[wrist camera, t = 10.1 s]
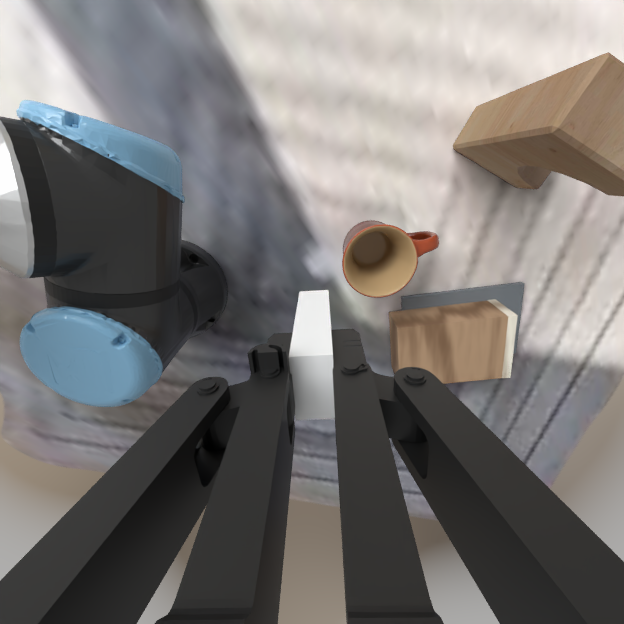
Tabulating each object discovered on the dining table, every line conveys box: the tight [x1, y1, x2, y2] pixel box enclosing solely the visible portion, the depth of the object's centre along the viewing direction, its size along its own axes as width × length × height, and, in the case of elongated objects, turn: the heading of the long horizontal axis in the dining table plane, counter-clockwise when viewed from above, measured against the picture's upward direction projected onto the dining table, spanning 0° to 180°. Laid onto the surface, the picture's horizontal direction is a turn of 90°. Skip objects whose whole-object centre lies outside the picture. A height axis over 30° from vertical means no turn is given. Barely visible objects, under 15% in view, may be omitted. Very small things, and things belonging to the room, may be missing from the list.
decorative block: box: [453, 52, 624, 196], centre depth 33 cm, size 11×6×20 cm, turn 62°
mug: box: [342, 221, 439, 298], centre depth 43 cm, size 12×9×10 cm
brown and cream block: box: [389, 299, 518, 384], centre depth 49 cm, size 6×10×16 cm
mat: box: [401, 282, 524, 353], centre depth 52 cm, size 18×12×1 cm, turn 98°
